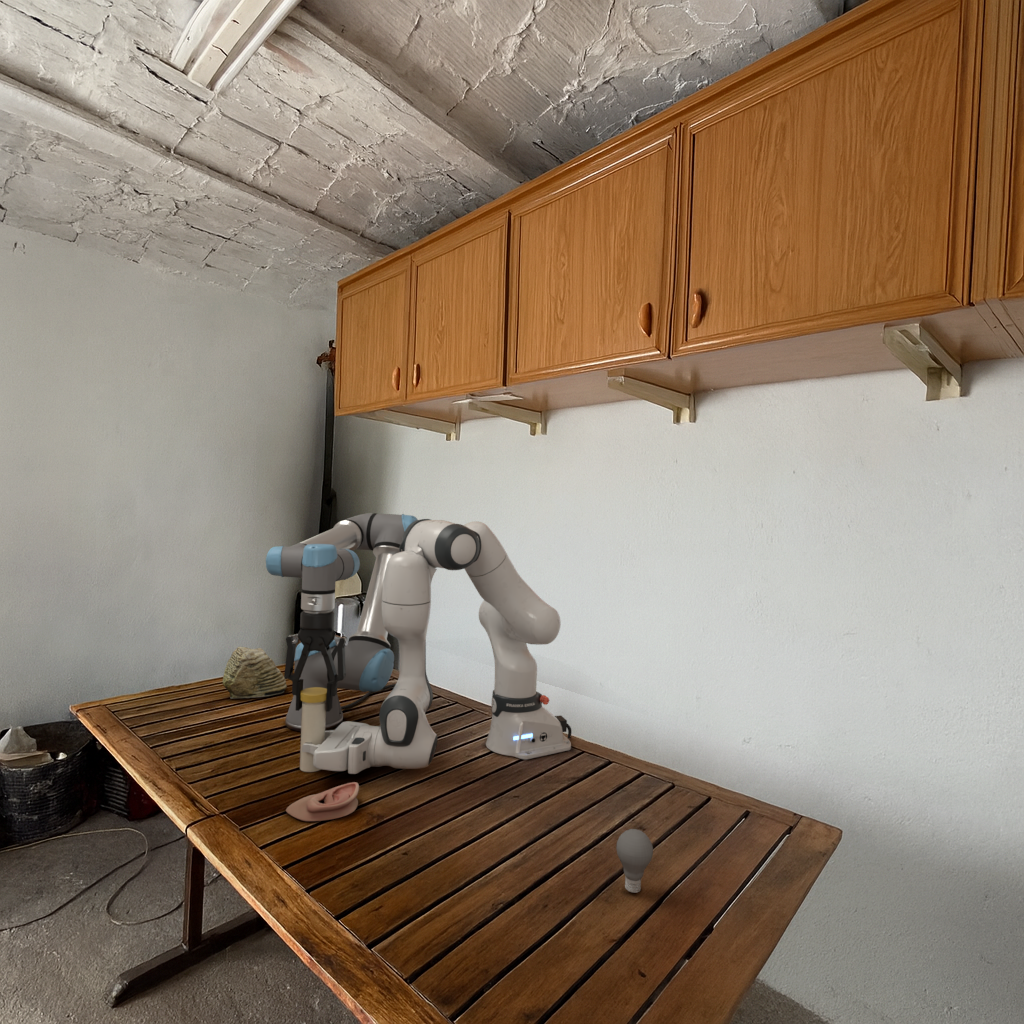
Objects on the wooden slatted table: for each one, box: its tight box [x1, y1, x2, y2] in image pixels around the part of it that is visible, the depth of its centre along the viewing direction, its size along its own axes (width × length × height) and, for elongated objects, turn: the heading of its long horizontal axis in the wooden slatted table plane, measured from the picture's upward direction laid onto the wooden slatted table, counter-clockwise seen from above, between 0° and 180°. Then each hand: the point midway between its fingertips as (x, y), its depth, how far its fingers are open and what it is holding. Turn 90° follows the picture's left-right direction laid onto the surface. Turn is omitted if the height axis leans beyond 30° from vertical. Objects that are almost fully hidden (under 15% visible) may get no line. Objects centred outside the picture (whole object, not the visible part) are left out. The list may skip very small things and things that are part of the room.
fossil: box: [222, 646, 288, 699], centre depth 198 cm, size 9×18×15 cm, turn 132°
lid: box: [300, 687, 327, 703], centre depth 148 cm, size 6×6×2 cm
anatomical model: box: [285, 781, 360, 822], centre depth 129 cm, size 13×4×12 cm
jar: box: [299, 701, 326, 773], centre depth 148 cm, size 5×5×17 cm
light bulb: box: [615, 828, 654, 894], centre depth 106 cm, size 6×6×10 cm
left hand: (314, 708), depth 148 cm, fingers closed on lid, 6 cm apart
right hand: (308, 741), depth 148 cm, fingers closed on jar, 5 cm apart
